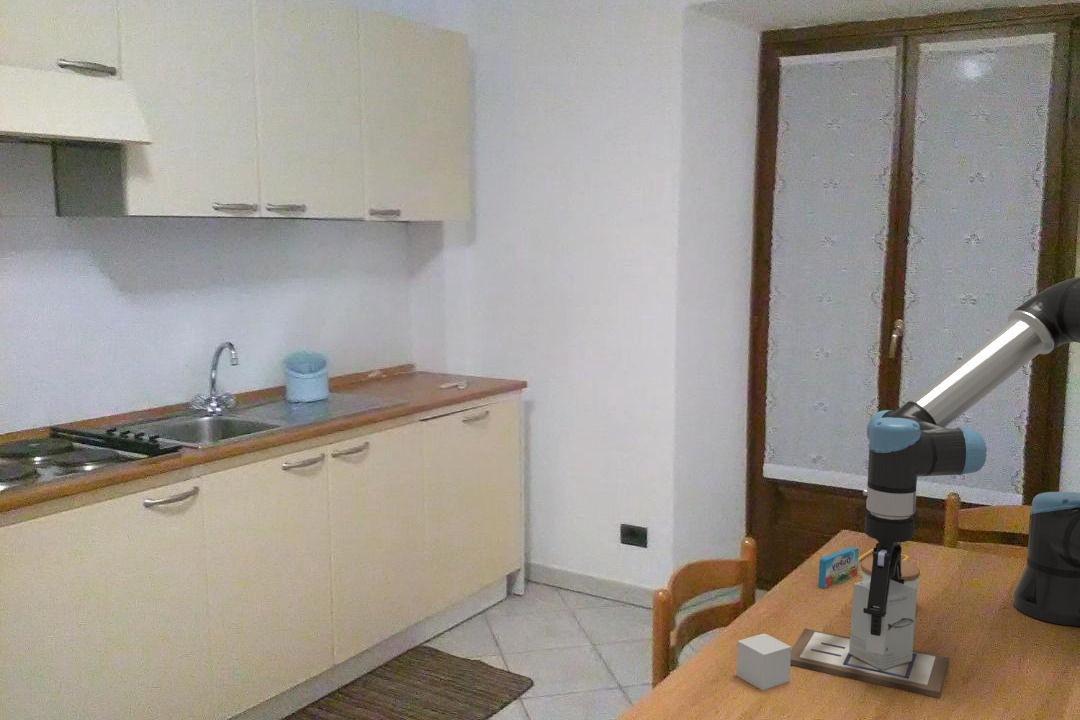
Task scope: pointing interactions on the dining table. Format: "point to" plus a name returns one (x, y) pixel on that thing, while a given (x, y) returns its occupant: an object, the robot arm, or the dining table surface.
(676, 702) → the dining table surface
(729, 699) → the dining table surface
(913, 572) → the lidded jar
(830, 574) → the yogurt
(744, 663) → the gray cube
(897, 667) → the brown framed board
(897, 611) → the supplement box
